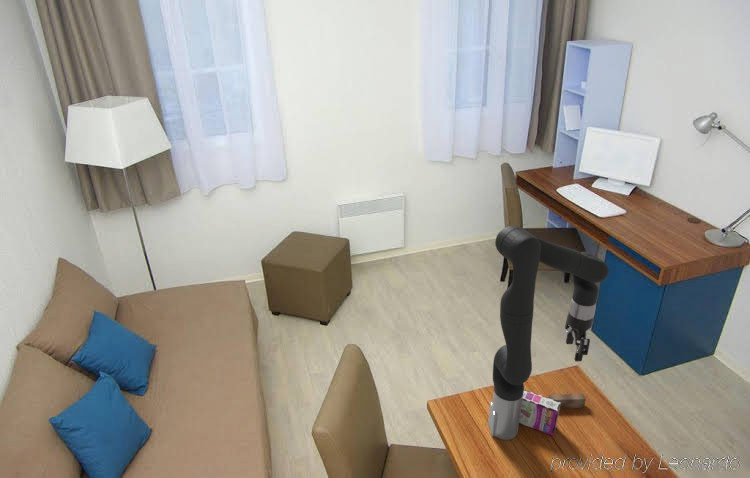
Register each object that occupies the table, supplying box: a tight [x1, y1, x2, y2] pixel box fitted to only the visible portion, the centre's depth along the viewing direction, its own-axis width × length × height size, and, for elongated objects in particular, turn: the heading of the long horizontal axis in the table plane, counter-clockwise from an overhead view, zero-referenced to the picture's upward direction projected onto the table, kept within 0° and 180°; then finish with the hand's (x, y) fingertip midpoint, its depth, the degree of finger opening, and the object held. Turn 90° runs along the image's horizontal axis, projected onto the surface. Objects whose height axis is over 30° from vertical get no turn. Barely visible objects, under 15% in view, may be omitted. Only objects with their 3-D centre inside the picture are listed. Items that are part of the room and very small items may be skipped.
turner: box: [547, 393, 587, 409], centre depth 183 cm, size 20×6×4 cm, turn 90°
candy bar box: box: [519, 389, 561, 436], centre depth 175 cm, size 11×5×16 cm
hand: (573, 352), depth 173 cm, fingers open, 8 cm apart
